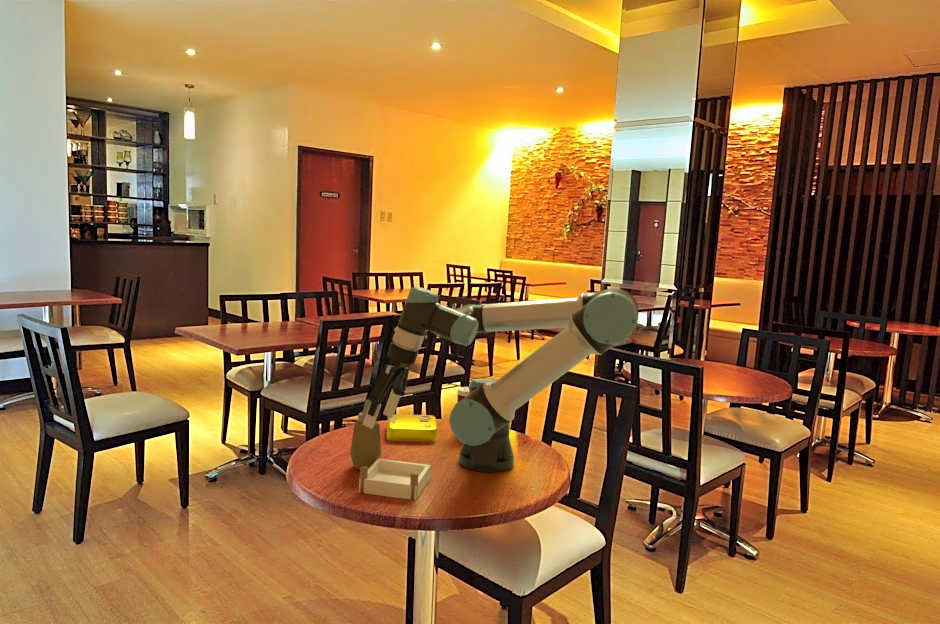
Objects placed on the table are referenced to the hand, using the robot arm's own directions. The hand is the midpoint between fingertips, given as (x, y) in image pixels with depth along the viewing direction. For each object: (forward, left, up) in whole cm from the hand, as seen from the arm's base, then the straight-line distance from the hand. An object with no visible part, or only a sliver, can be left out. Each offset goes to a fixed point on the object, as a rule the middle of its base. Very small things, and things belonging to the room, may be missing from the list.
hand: (378, 421), depth 168 cm
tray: (-8, +10, -12) cm, 18 cm away
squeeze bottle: (+3, +1, -13) cm, 13 cm away
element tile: (-1, -30, -13) cm, 33 cm away
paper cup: (-17, -37, -13) cm, 43 cm away
